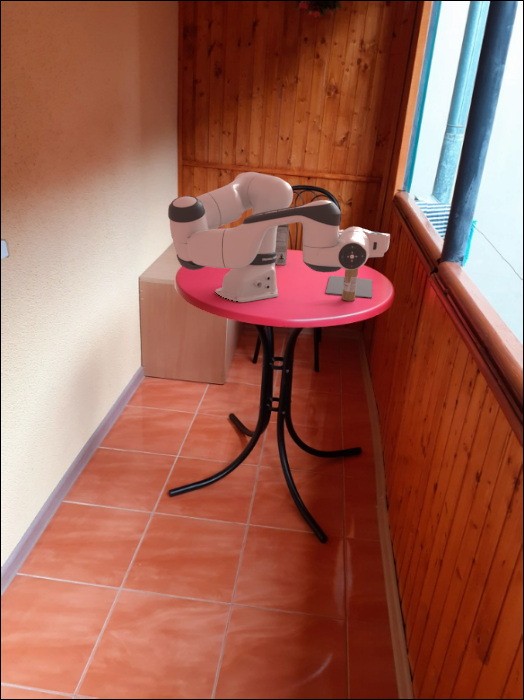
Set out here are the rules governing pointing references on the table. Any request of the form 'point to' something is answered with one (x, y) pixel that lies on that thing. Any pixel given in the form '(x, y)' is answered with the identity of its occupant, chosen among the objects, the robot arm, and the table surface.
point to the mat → (361, 288)
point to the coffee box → (281, 244)
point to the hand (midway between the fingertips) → (355, 233)
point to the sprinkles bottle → (349, 285)
